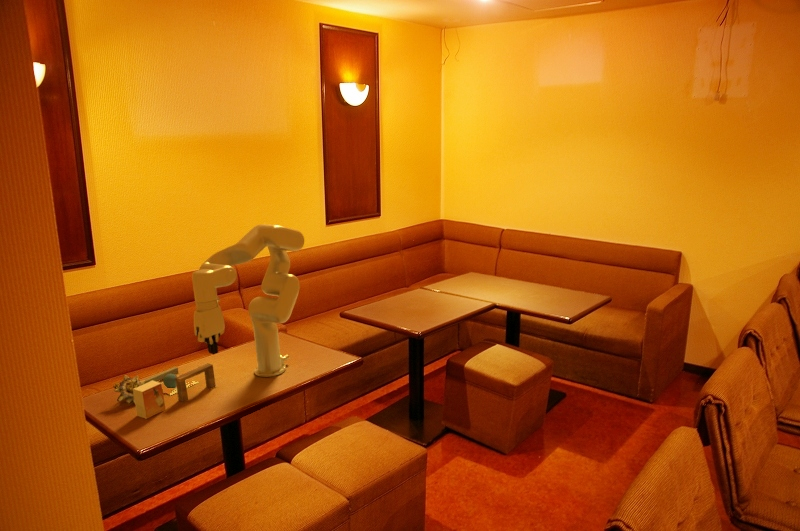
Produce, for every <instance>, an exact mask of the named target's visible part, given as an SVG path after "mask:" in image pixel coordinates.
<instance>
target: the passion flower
mask: <svg viewBox="0 0 800 531" xmlns="http://www.w3.org/2000/svg"><path fill="white" fill-rule="evenodd" d="M143 384H145V380H144V379H141V380H139V375H138V374H137V375H135V376H134V377H132V378H131V377H130V376H128V375H126V374H124V376H123V380H121V382H116V383H115V384H114V385H113V386H112V387H113V388H114V390H113V391H114V392H116V393H120V395H119V396H118V397H117V399H116V401H117V402H121V401H123V400H125V403H126V404H127V405H129V404H130V403H133V404H134V405H135V400H134V394H133V389H134V388H137V387H139V386H141V385H143Z"/></svg>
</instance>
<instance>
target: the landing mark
mask: <svg viewBox="0 0 800 531" xmlns="http://www.w3.org/2000/svg"><path fill="white" fill-rule="evenodd" d="M195 381H196V380H195ZM195 381H192V382H193V383H191V384H193V386H195V385H197V384H199V383H200V381H198V380H197V382H195ZM188 383H189V382H188ZM186 384H187V383H186ZM194 384H195V385H194ZM189 385H190V384H188V385H186V388H187V389H188V386H189ZM193 386H192V385H191V387H193ZM173 388H175V389H173V390H171V391H172V393H170V396H169V397H171V395H172V396H174V395H176V394H178V393H177V388H176V386H175V387H173ZM189 388H190V386H189ZM175 390H176V391H175ZM173 391H174V392H173ZM175 393H176V394H175ZM173 394H174V395H173Z"/></svg>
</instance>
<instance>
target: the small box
mask: <svg viewBox="0 0 800 531" xmlns="http://www.w3.org/2000/svg"><path fill="white" fill-rule="evenodd" d="M162 383H163V382H156V381H153V380H152V381H150V382H148V383H146V384H143V385H141V386H139V387H137V388H134V389H133V394H134V400H135V404H134V405H135V412H136V416H137V417H139V418H143V419H145V420H147V419H150V418H151V417H153V416H155V415H157V414H159V413H162V412H164V411H166V404H165V398H164V393H163V389H162Z"/></svg>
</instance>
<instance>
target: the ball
mask: <svg viewBox="0 0 800 531" xmlns="http://www.w3.org/2000/svg"><path fill="white" fill-rule="evenodd" d="M177 376H178V375H177V374H176V375H175V374H168V375H166V376H165V377H164V379H163V380H162V383H163V384H164V385H165V386H166V387H167V388H173V387H175V386H176V380H175V377H177Z"/></svg>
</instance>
